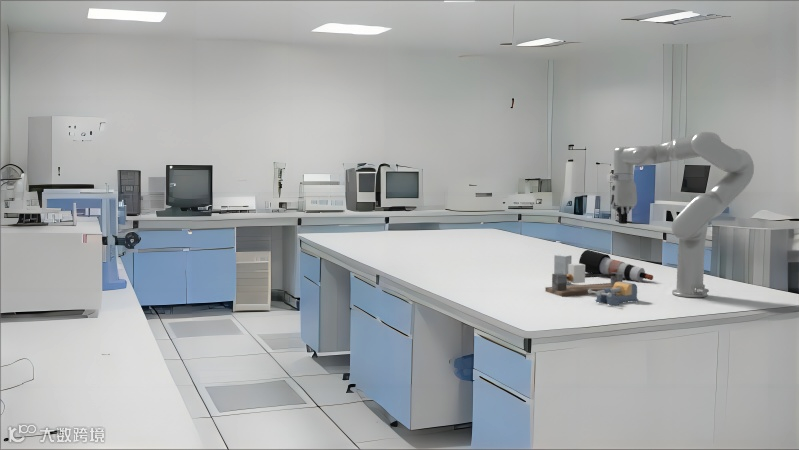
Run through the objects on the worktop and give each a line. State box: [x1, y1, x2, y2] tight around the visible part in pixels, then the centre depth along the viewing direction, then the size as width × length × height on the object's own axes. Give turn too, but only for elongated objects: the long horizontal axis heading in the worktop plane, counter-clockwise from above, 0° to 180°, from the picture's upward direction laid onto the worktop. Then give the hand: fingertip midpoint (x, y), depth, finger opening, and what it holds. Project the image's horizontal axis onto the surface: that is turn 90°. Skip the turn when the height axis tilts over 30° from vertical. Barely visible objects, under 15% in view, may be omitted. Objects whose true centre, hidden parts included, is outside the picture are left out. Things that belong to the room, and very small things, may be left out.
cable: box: [578, 249, 654, 282], centre depth 338 cm, size 10×34×10 cm
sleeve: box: [568, 262, 586, 284], centre depth 303 cm, size 4×5×7 cm
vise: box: [588, 281, 639, 306], centre depth 284 cm, size 18×10×7 cm, turn 126°
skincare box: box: [553, 253, 573, 285], centre depth 323 cm, size 6×4×12 cm
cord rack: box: [544, 272, 624, 297], centre depth 305 cm, size 12×30×8 cm, turn 111°
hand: (623, 223), depth 312 cm, fingers closed
